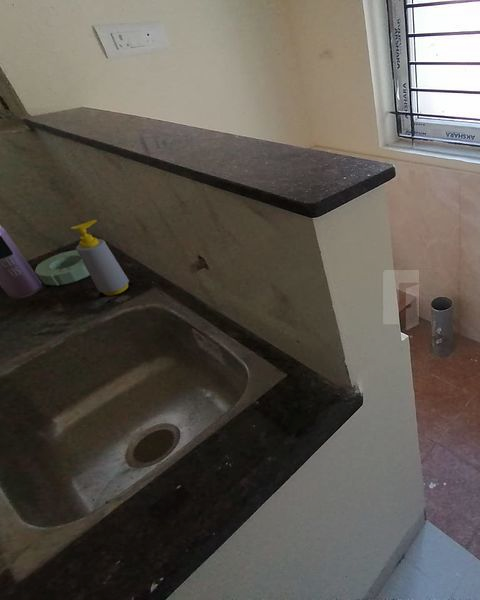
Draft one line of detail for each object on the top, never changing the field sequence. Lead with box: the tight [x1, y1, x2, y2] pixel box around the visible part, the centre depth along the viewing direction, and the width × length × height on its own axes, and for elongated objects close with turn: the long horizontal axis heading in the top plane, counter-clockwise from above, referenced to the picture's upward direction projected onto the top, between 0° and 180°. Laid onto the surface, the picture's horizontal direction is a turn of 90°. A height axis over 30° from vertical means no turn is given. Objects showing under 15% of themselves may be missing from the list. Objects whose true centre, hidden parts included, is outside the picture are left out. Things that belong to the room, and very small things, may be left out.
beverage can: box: [0, 224, 43, 299], centre depth 80 cm, size 6×6×15 cm
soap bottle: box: [70, 219, 130, 296], centre depth 93 cm, size 7×7×18 cm
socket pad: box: [34, 249, 90, 287], centre depth 105 cm, size 13×13×3 cm
